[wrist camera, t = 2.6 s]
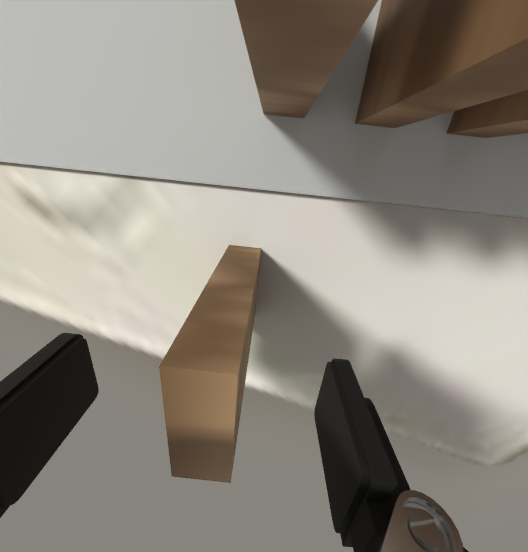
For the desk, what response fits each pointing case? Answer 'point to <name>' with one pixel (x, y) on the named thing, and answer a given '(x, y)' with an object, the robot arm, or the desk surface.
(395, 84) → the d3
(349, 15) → the d4
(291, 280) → the desk surface
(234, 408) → the domino
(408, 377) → the desk surface
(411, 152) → the runner mat
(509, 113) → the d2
